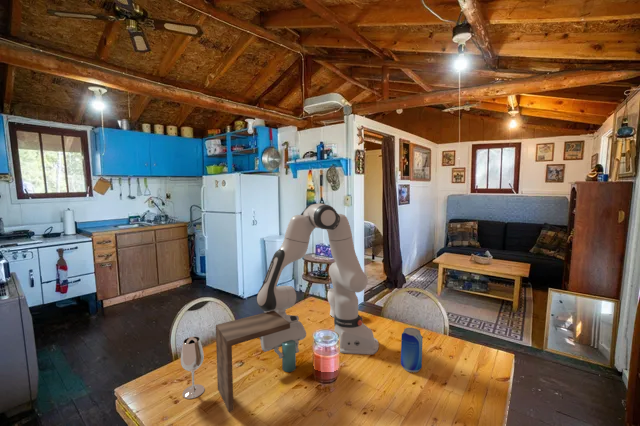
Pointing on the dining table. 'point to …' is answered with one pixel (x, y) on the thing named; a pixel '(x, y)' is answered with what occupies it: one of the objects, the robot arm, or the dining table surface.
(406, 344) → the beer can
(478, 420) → the dining table surface
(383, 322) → the dining table surface
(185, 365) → the wineglass
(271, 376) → the dining table surface
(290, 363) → the teal cylinder
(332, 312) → the cup
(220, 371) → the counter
